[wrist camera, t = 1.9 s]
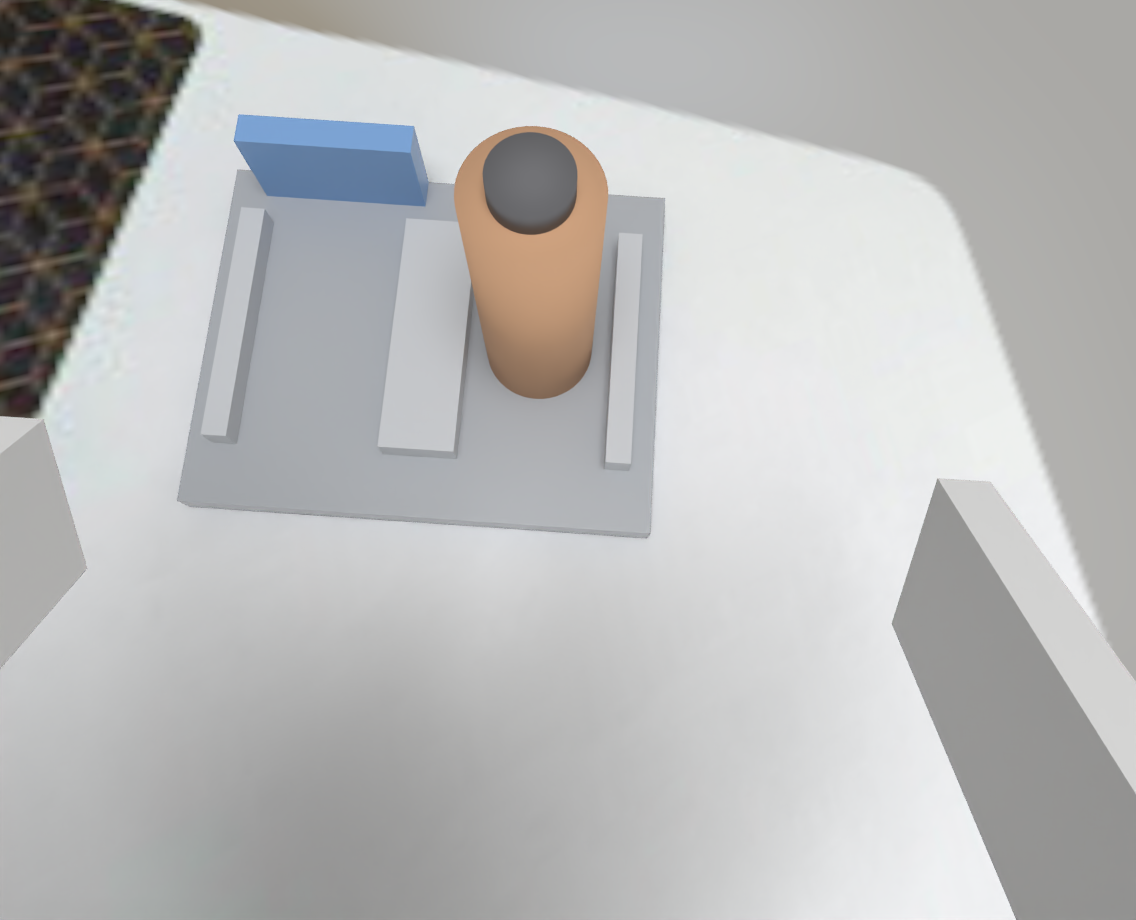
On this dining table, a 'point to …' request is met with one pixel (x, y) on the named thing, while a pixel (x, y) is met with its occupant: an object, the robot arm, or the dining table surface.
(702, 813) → the dining table surface
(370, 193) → the gray ribbed plate
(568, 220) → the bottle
